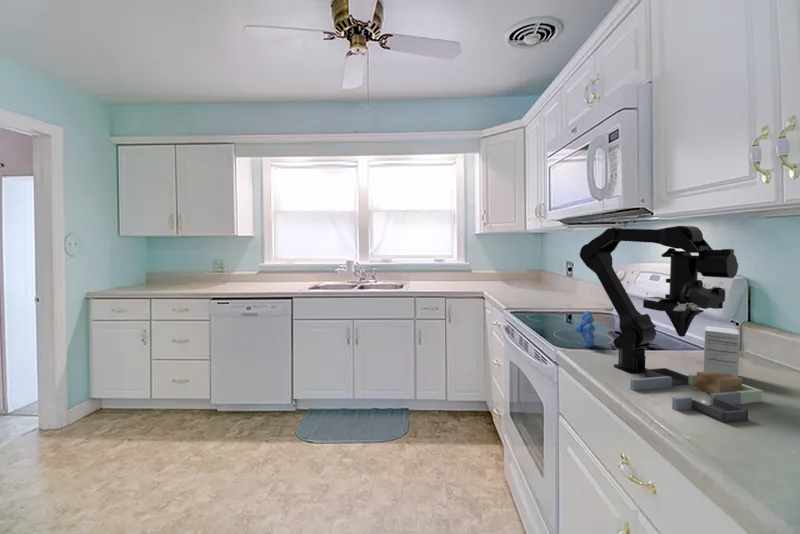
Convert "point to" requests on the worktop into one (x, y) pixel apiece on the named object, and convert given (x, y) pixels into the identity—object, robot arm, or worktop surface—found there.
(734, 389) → the walnut block
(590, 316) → the grapes
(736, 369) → the supplement box
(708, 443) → the worktop surface
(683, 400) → the box
